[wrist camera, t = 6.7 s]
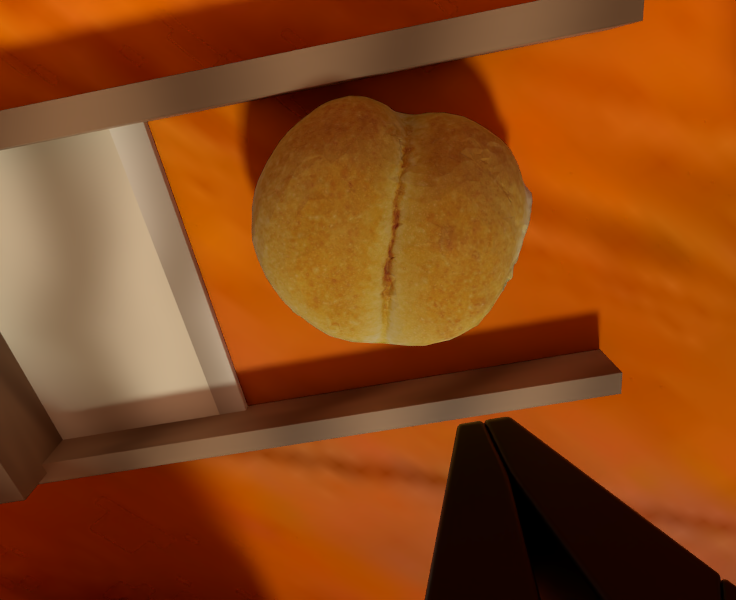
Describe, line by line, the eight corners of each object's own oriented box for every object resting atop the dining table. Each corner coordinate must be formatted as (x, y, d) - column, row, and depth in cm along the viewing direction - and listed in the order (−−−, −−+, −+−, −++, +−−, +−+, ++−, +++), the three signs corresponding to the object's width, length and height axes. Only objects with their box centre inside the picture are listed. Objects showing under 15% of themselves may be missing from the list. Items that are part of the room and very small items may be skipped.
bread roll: (267, 81, 15) (245, 73, 11) (530, 130, 16) (590, 137, 12) (250, 313, 18) (227, 367, 14) (470, 340, 19) (502, 397, 15)
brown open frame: (611, -8, 14) (677, -36, 11) (599, 368, 20) (640, 415, 17) (-136, 144, 16) (-251, 155, 13) (51, 456, 21) (2, 513, 18)
